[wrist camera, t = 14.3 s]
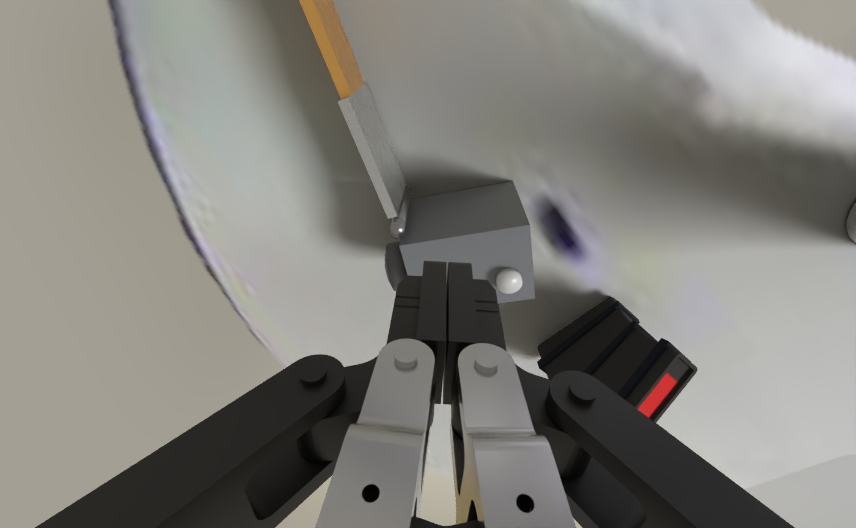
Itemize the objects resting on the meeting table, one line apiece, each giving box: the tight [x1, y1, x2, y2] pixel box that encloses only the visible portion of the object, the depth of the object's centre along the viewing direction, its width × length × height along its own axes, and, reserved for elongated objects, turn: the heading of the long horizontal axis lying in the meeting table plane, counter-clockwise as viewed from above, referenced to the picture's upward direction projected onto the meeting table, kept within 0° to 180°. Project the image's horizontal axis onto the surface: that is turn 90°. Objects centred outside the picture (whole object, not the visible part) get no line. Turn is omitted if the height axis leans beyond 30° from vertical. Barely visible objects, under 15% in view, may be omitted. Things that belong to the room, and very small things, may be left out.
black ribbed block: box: [537, 297, 697, 423], centre depth 41 cm, size 4×13×15 cm, turn 139°
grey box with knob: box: [385, 181, 535, 304], centre depth 35 cm, size 12×7×10 cm, turn 102°
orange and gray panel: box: [299, 0, 412, 238], centre depth 29 cm, size 19×1×8 cm, turn 19°
